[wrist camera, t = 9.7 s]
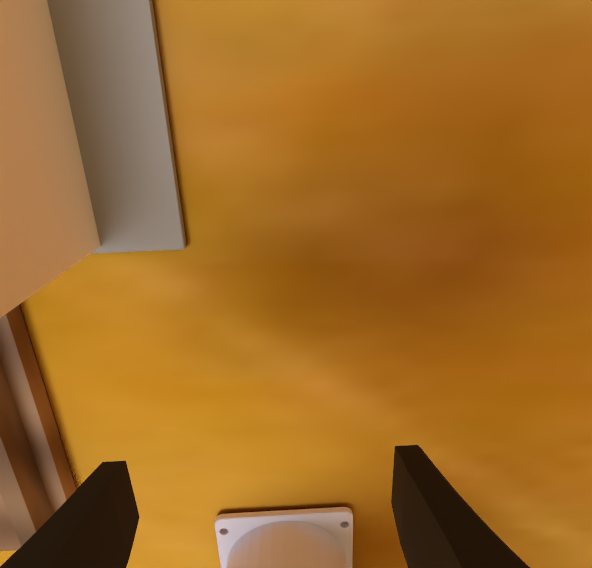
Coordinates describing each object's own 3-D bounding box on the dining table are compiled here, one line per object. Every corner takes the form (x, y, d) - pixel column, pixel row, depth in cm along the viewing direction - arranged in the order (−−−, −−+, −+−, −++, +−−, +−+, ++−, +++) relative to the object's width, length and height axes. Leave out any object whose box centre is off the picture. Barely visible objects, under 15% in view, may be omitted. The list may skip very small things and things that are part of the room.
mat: (186, 246, 18) (184, 249, 18) (-43, 256, 18) (-52, 260, 18) (143, -62, 14) (139, -68, 14) (-152, -52, 14) (-167, -58, 14)
